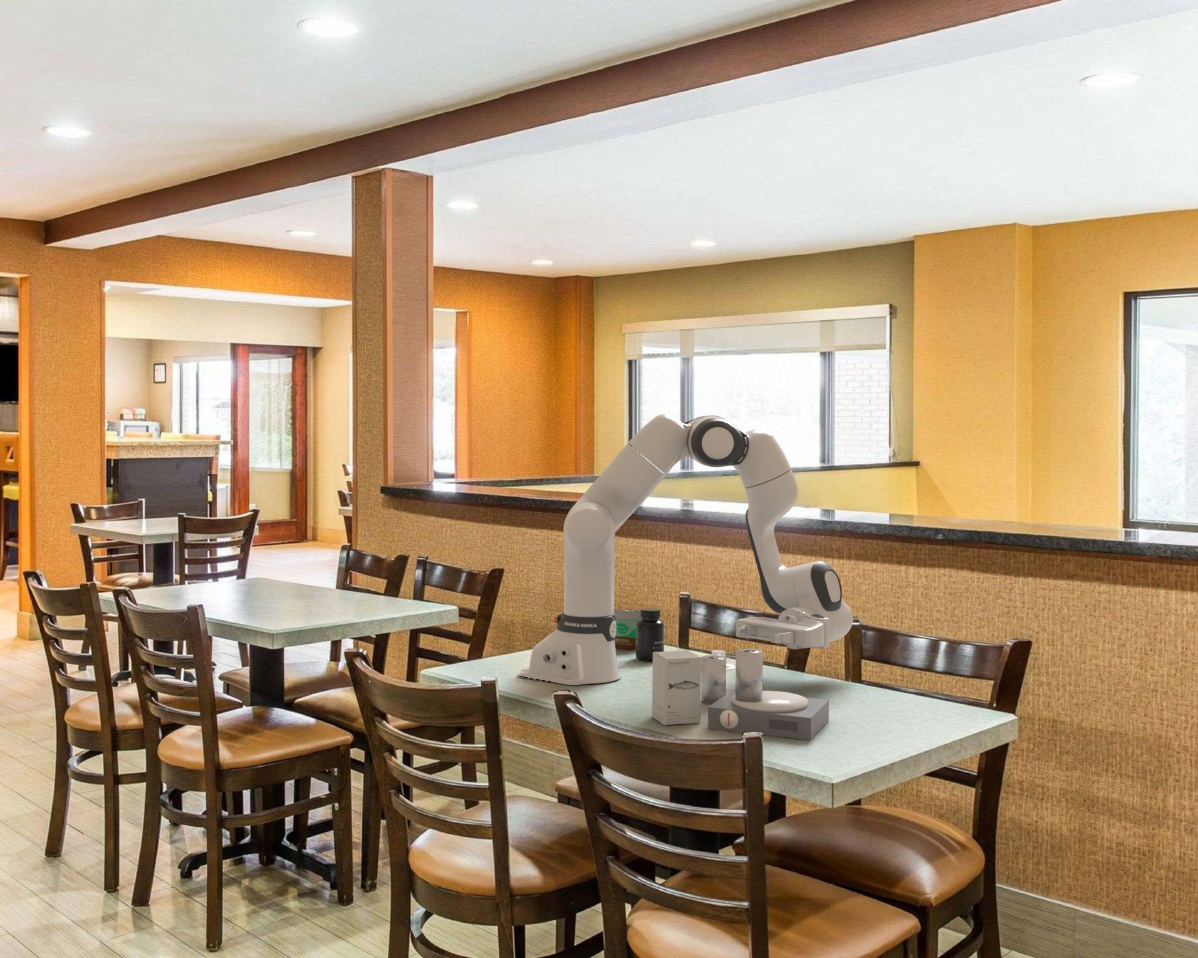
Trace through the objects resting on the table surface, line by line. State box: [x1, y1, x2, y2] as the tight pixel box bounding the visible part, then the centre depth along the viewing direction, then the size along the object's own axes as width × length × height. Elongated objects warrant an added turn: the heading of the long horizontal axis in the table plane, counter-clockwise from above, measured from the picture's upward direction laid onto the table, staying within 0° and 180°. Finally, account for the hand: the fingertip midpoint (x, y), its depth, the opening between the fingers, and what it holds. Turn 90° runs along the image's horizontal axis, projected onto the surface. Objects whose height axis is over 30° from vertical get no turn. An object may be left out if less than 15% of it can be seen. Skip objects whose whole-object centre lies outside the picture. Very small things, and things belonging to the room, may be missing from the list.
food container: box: [614, 608, 641, 651], centre depth 285 cm, size 12×6×10 cm, turn 71°
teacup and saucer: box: [711, 649, 736, 671], centre depth 264 cm, size 9×8×4 cm
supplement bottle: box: [635, 607, 665, 662], centre depth 271 cm, size 7×7×12 cm
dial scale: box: [707, 689, 830, 741], centre depth 211 cm, size 19×15×5 cm
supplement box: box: [651, 650, 702, 727], centre depth 214 cm, size 7×7×13 cm
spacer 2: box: [734, 648, 764, 702], centre depth 210 cm, size 5×5×9 cm
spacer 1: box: [700, 654, 727, 706], centre depth 229 cm, size 5×5×9 cm
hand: (755, 635), depth 236 cm, fingers open, 8 cm apart
